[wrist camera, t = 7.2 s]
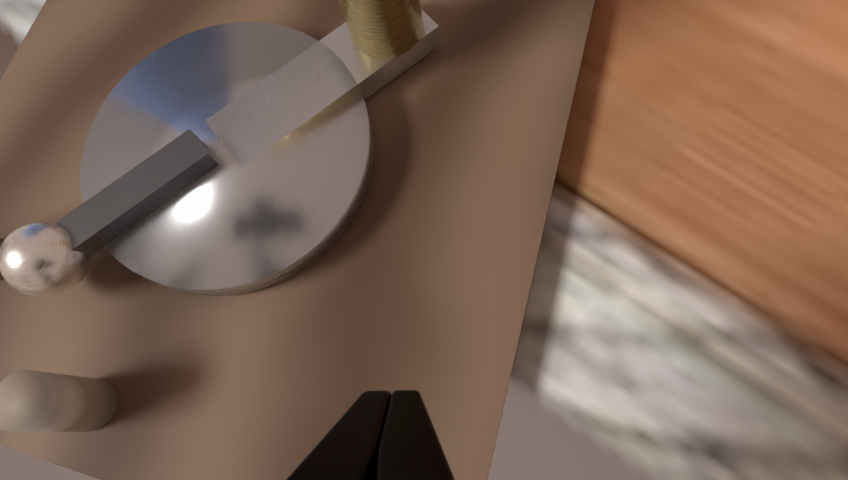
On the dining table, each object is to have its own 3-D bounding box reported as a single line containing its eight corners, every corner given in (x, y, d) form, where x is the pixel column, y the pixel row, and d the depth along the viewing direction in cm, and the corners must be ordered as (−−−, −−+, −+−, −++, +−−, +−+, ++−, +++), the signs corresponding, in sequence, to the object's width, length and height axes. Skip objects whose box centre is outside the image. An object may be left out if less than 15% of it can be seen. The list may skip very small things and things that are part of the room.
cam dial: (111, 415, 17) (-606, 389, 6) (-11, 189, 20) (-633, -116, 9) (509, 112, 19) (552, -341, 8) (344, -51, 22) (204, -546, 11)
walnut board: (597, -15, 22) (621, -106, 18) (460, 594, 16) (454, 645, 12) (119, -84, 26) (58, -171, 22) (-144, 385, 20) (-292, 375, 16)
